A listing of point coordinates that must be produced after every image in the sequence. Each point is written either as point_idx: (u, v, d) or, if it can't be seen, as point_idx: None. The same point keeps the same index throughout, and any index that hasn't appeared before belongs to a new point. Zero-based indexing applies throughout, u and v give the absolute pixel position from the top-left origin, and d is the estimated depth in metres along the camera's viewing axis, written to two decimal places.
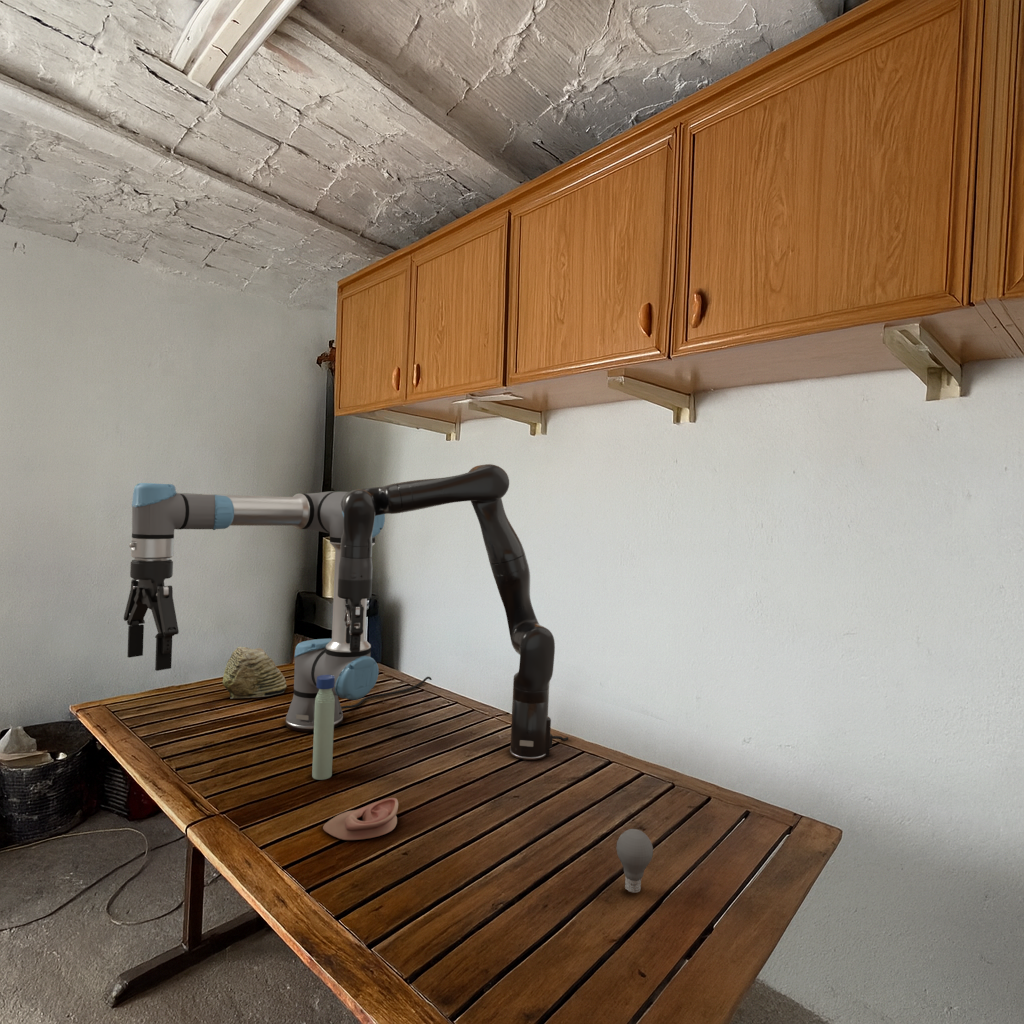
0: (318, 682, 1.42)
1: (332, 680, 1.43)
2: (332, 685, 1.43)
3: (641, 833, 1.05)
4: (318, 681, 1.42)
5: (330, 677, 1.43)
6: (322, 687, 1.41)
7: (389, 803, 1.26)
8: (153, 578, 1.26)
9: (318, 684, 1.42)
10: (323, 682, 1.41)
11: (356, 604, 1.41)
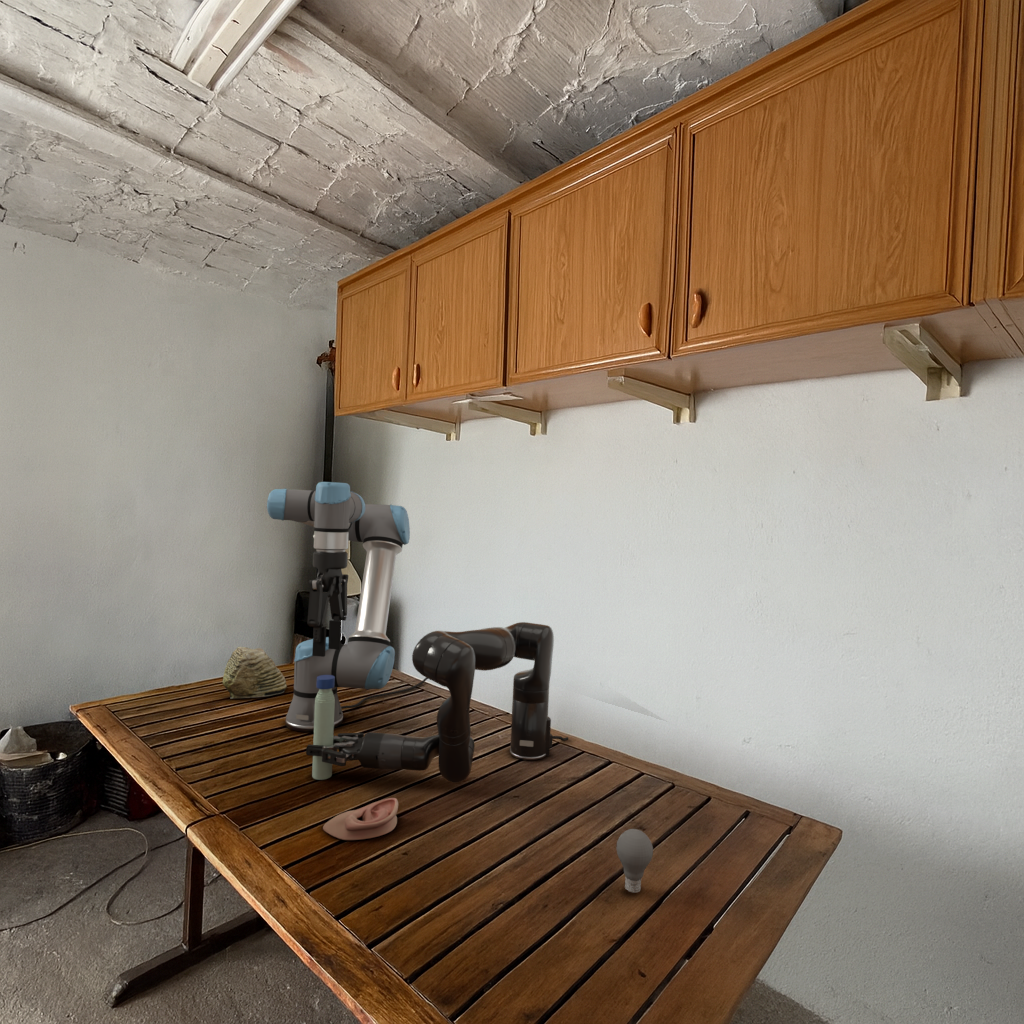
0: (318, 682, 1.42)
1: (332, 680, 1.43)
2: (332, 685, 1.43)
3: (641, 833, 1.05)
4: (318, 681, 1.42)
5: (330, 677, 1.43)
6: (322, 687, 1.41)
7: (389, 803, 1.26)
8: (317, 567, 1.40)
9: (318, 684, 1.42)
10: (323, 682, 1.41)
11: None
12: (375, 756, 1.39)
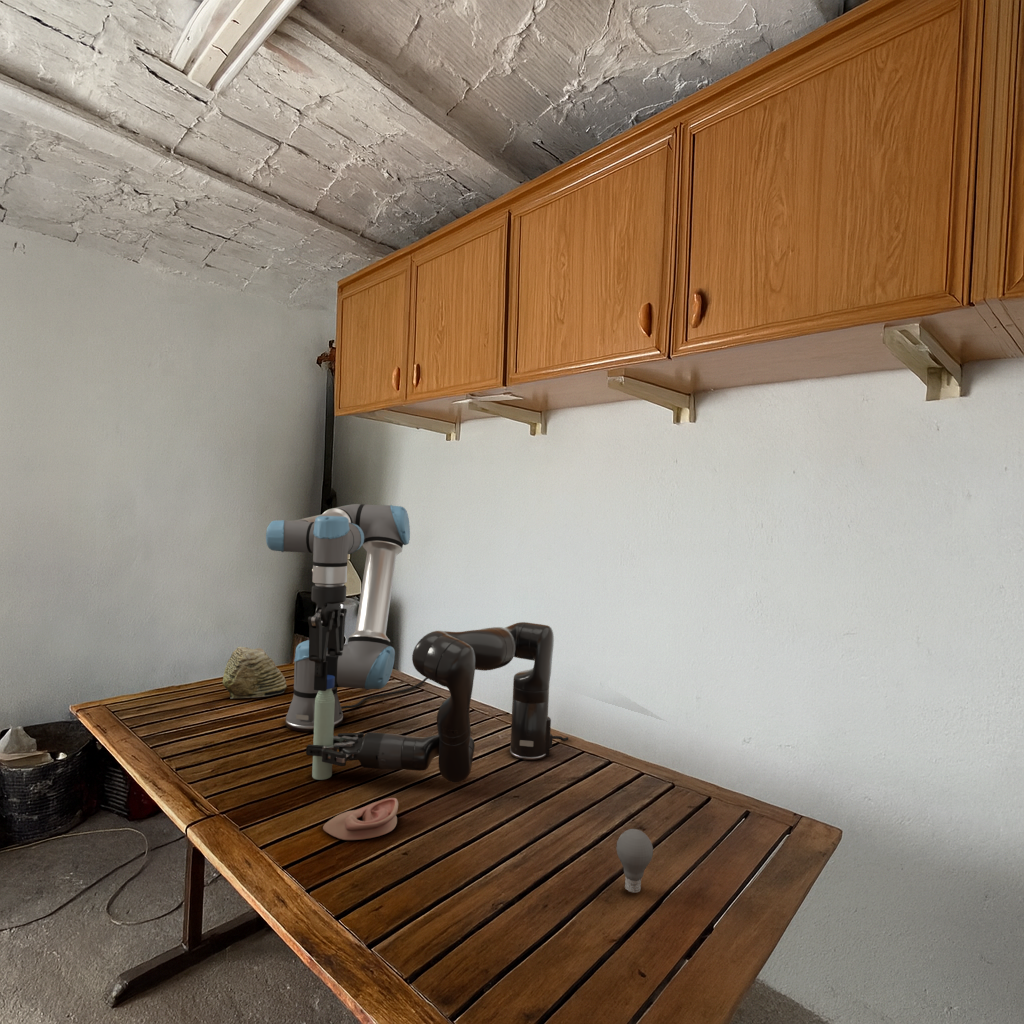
0: None
1: (332, 680, 1.43)
2: (332, 685, 1.43)
3: (641, 833, 1.05)
4: None
5: (330, 677, 1.43)
6: None
7: (389, 803, 1.26)
8: (316, 601, 1.40)
9: None
10: None
11: None
12: (375, 756, 1.39)
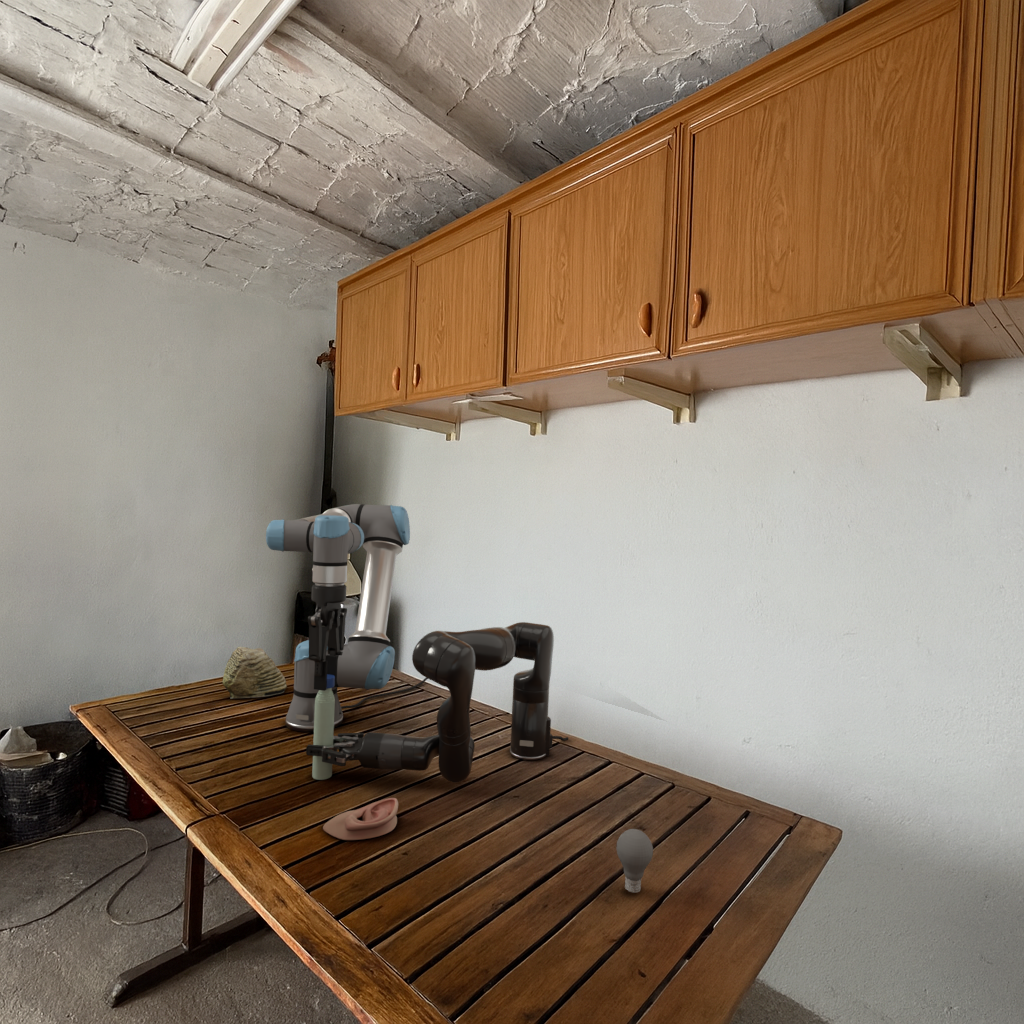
0: (334, 680, 1.44)
1: None
2: None
3: (641, 833, 1.05)
4: (334, 679, 1.44)
5: None
6: None
7: (389, 803, 1.26)
8: (315, 601, 1.40)
9: (334, 682, 1.44)
10: None
11: None
12: (375, 756, 1.39)
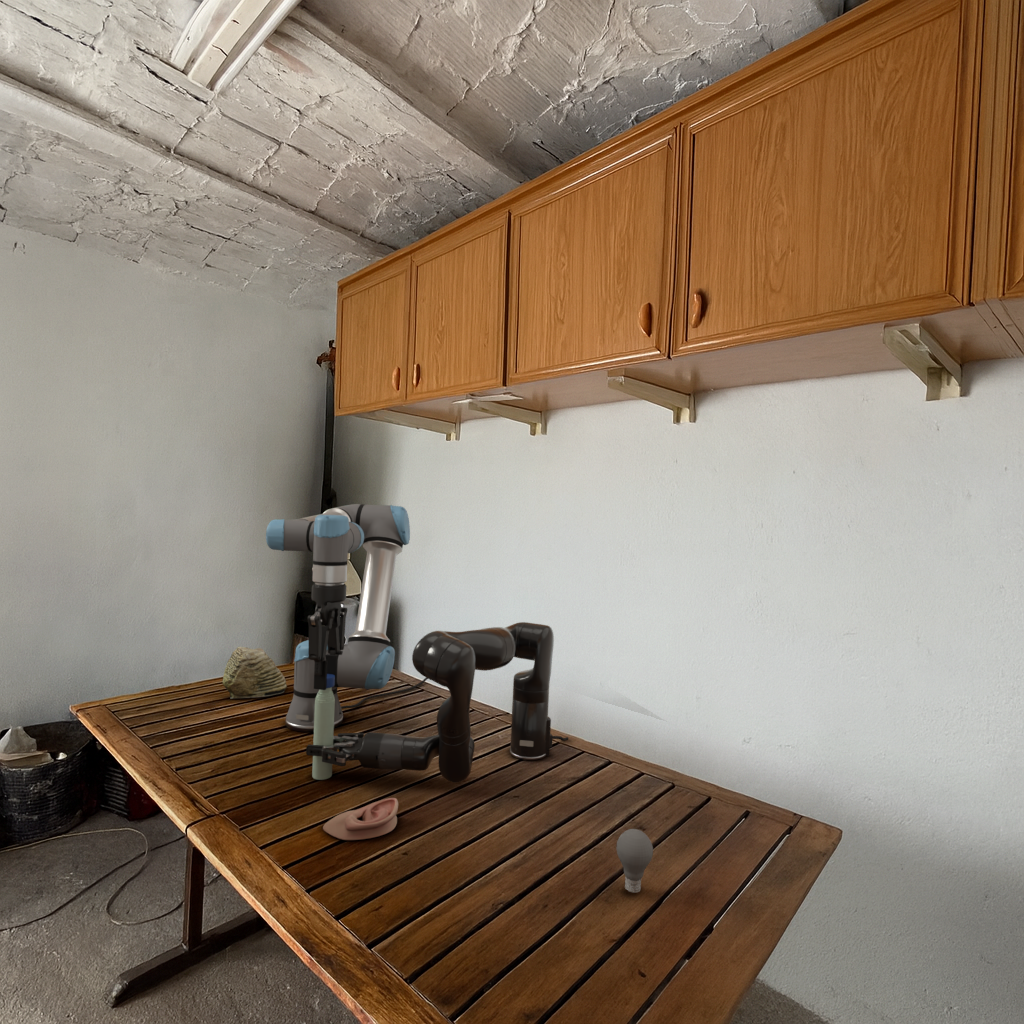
0: None
1: None
2: None
3: (641, 833, 1.05)
4: None
5: None
6: None
7: (389, 803, 1.26)
8: (315, 600, 1.40)
9: None
10: None
11: None
12: (375, 756, 1.39)
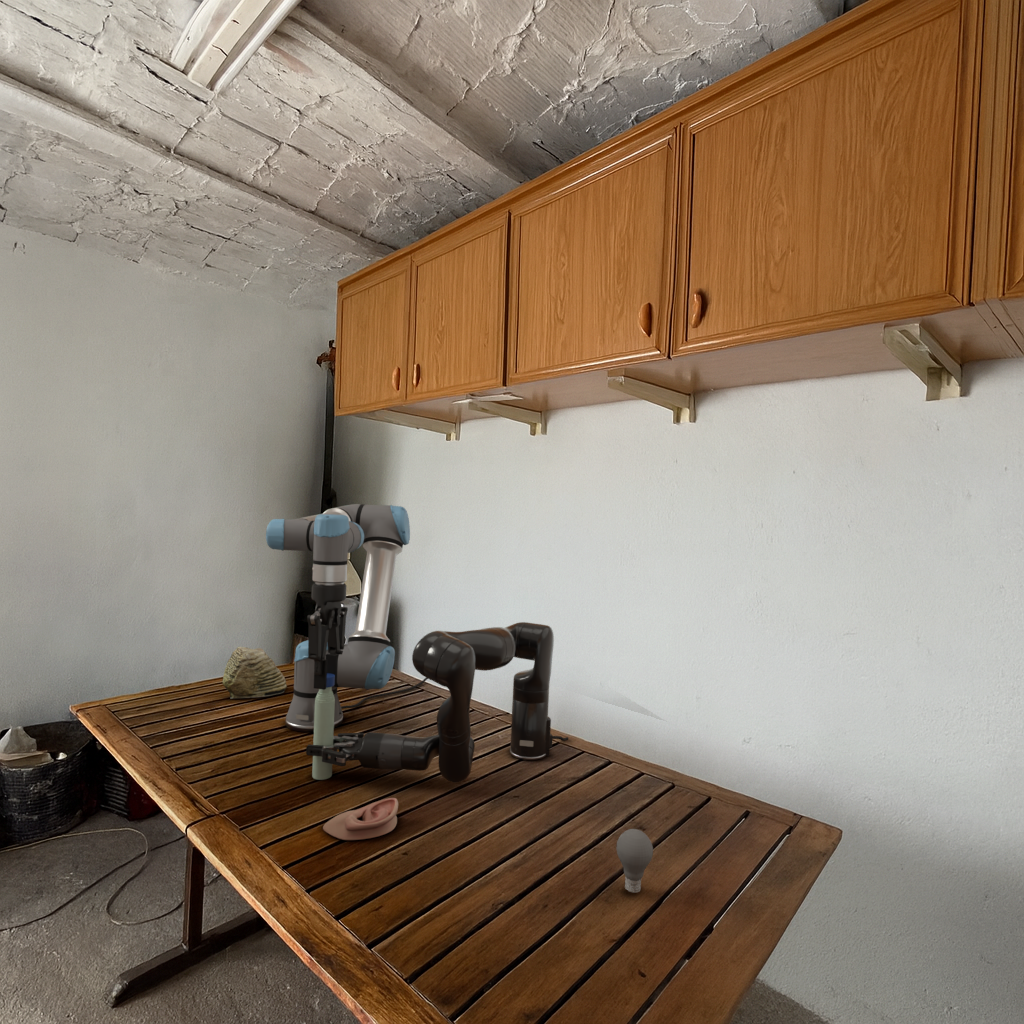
0: None
1: None
2: None
3: (641, 833, 1.05)
4: None
5: (330, 674, 1.44)
6: (330, 685, 1.42)
7: (389, 803, 1.26)
8: (315, 600, 1.40)
9: None
10: (330, 680, 1.42)
11: None
12: (375, 756, 1.39)
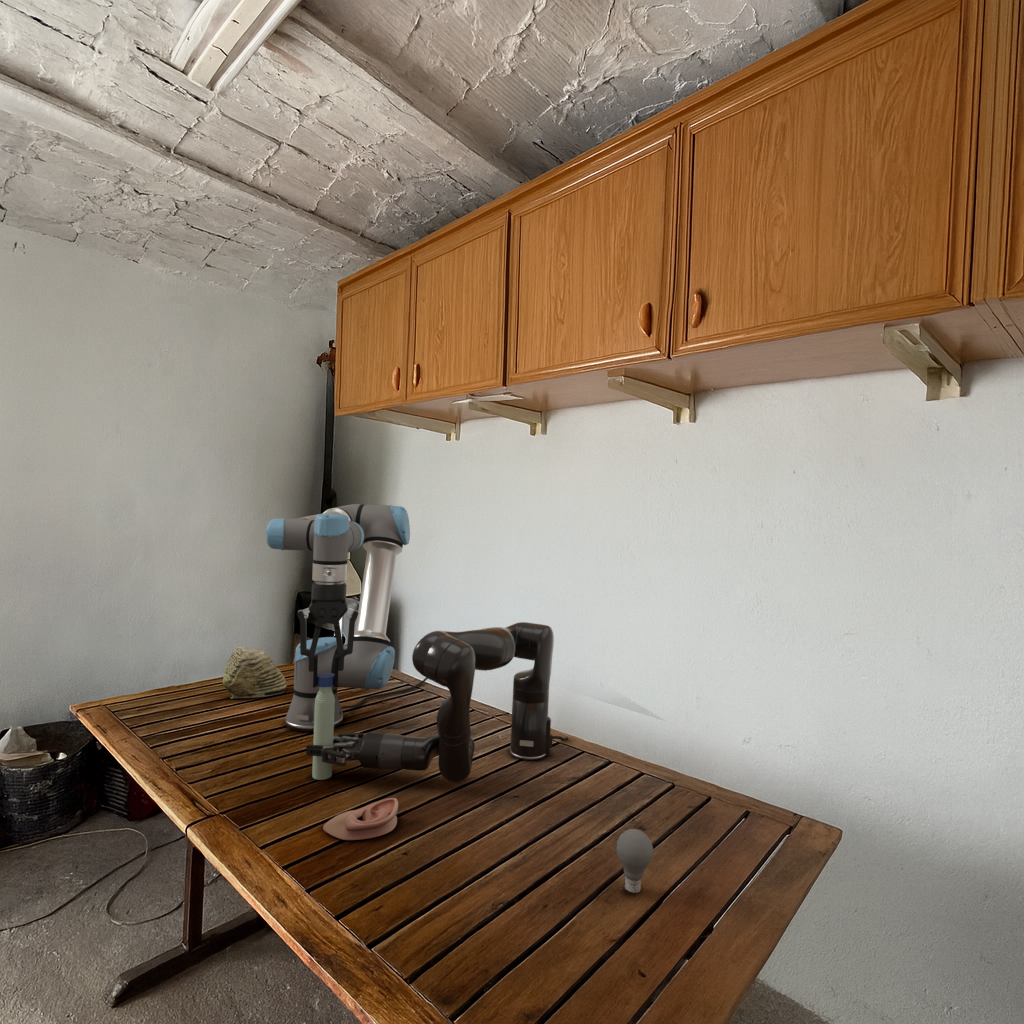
0: None
1: None
2: None
3: (641, 833, 1.05)
4: None
5: (321, 674, 1.44)
6: None
7: (389, 803, 1.26)
8: (345, 598, 1.43)
9: None
10: None
11: None
12: (375, 756, 1.39)
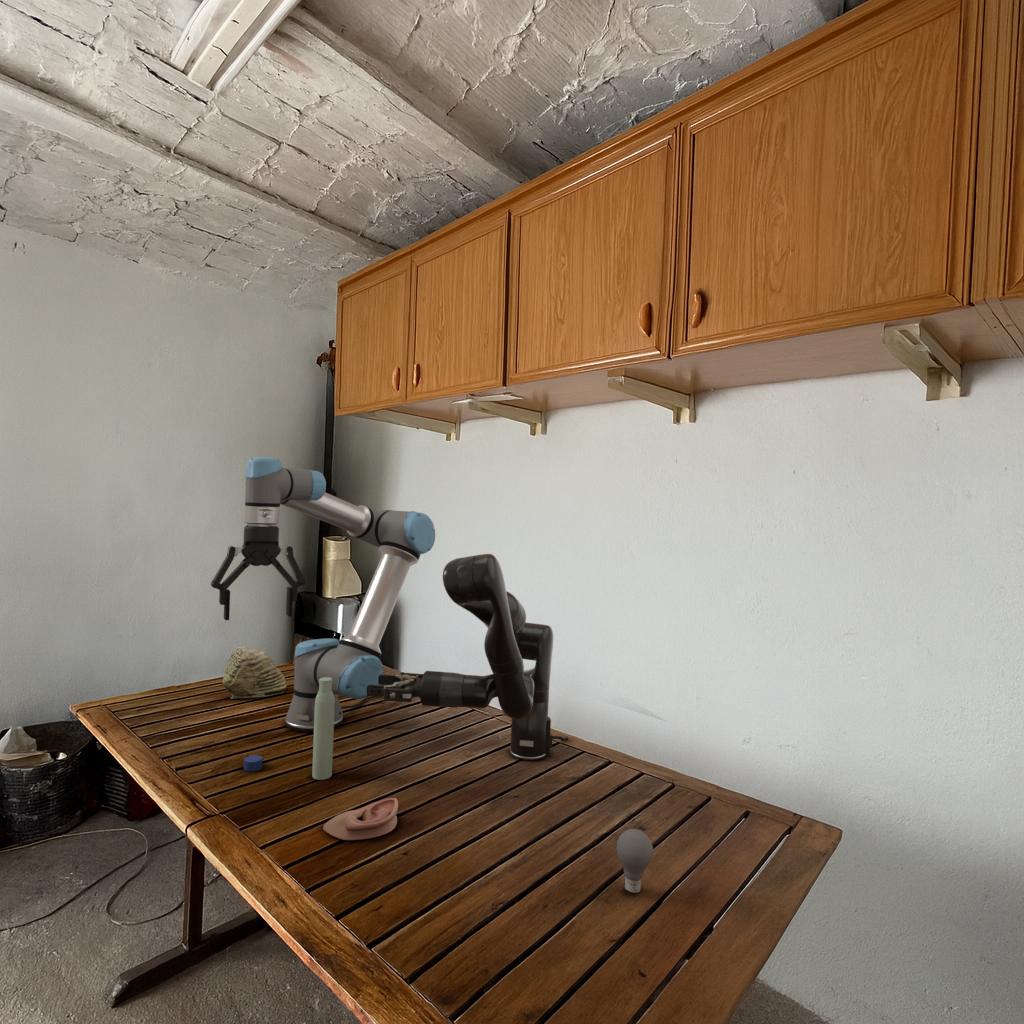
0: None
1: None
2: None
3: (641, 833, 1.05)
4: None
5: (248, 758, 1.46)
6: None
7: (389, 803, 1.26)
8: (278, 540, 1.46)
9: None
10: None
11: None
12: (436, 692, 1.37)
